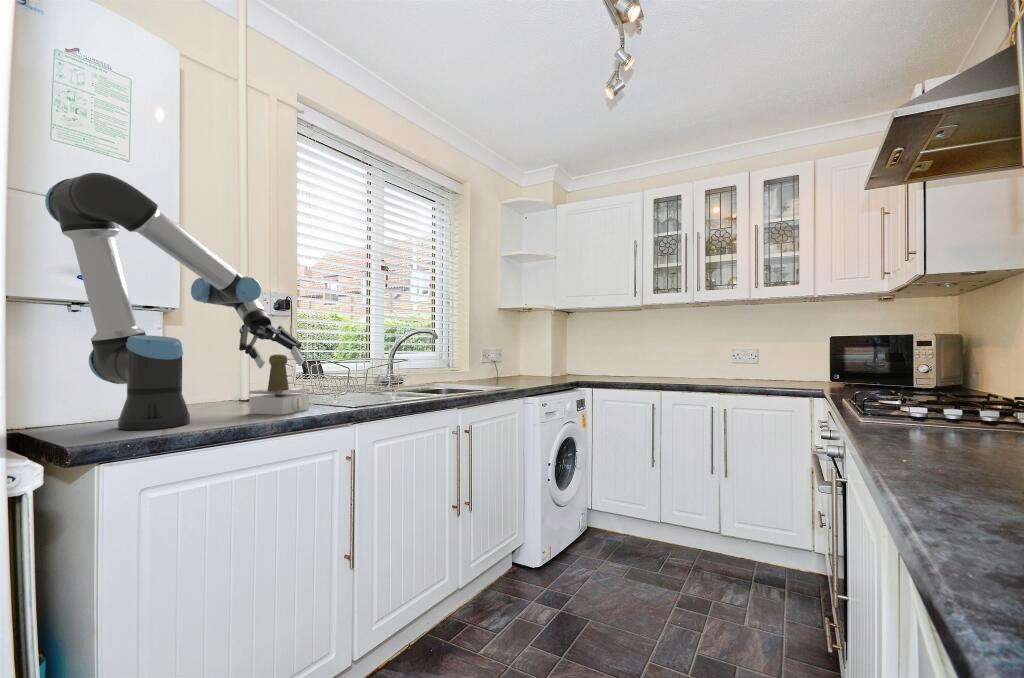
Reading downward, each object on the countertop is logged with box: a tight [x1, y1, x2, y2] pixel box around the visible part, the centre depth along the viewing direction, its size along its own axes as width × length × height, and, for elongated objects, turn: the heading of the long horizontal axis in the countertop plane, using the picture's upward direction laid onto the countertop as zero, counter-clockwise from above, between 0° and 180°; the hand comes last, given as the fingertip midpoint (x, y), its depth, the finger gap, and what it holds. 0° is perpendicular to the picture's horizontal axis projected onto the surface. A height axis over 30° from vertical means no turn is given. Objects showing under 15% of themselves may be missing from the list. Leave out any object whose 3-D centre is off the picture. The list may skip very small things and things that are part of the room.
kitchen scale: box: [248, 393, 310, 416], centre depth 152 cm, size 12×13×6 cm
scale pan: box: [248, 387, 310, 395], centre depth 153 cm, size 12×12×1 cm
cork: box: [267, 353, 290, 391], centre depth 152 cm, size 6×6×11 cm
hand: (282, 364), depth 153 cm, fingers open, 13 cm apart
